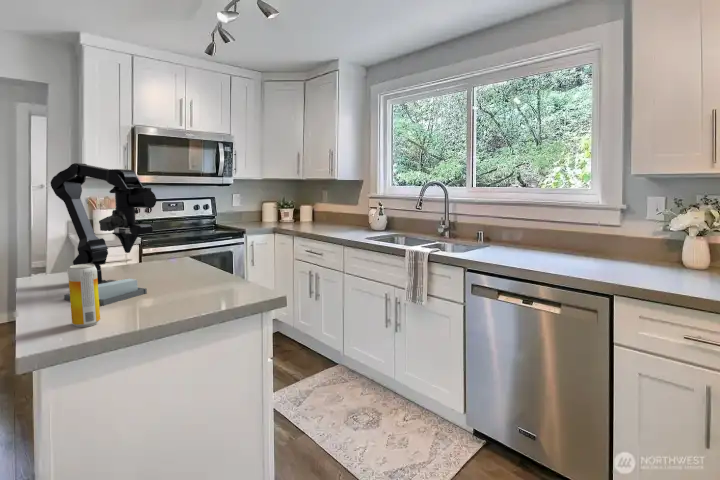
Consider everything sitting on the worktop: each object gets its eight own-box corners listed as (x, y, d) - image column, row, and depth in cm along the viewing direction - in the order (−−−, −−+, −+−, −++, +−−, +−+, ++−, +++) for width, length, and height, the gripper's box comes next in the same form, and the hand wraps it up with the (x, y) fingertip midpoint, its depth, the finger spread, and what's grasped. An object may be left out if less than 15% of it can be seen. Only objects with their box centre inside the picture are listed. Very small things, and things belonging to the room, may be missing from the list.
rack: (62, 300, 131) (61, 288, 131) (109, 288, 146) (108, 278, 145) (101, 306, 125) (101, 294, 125) (146, 293, 140) (146, 282, 140)
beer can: (93, 318, 114) (89, 262, 112) (105, 323, 110) (101, 265, 109) (67, 324, 109) (63, 266, 107) (79, 329, 106) (74, 269, 104)
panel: (92, 301, 131) (91, 285, 130) (131, 293, 141) (130, 278, 140) (99, 303, 128) (98, 287, 128) (138, 295, 139) (137, 279, 138)
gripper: (83, 206, 142) (86, 253, 144) (123, 209, 134) (125, 259, 137) (114, 205, 152) (116, 249, 154) (153, 208, 145) (155, 253, 147)
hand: (127, 252), depth 148 cm, fingers closed
